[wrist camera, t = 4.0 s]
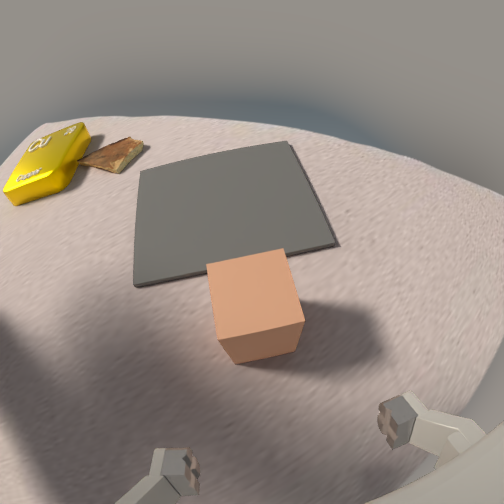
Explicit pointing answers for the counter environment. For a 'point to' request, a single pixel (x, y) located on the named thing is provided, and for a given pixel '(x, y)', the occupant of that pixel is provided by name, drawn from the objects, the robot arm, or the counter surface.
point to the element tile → (47, 165)
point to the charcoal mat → (223, 212)
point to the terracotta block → (255, 306)
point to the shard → (113, 155)
